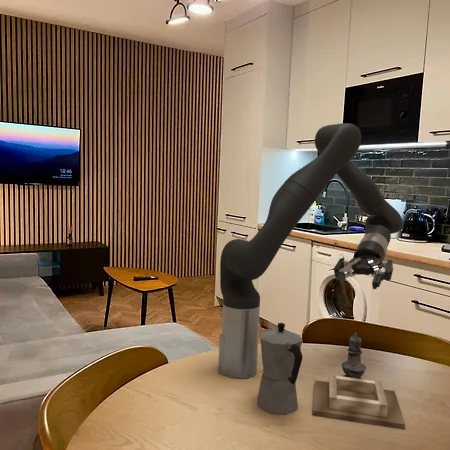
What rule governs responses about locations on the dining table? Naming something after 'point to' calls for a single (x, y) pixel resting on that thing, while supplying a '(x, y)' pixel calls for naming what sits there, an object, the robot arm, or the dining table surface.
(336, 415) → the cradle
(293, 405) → the coffeepot
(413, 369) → the dining table surface
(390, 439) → the dining table surface
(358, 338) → the salt shaker
